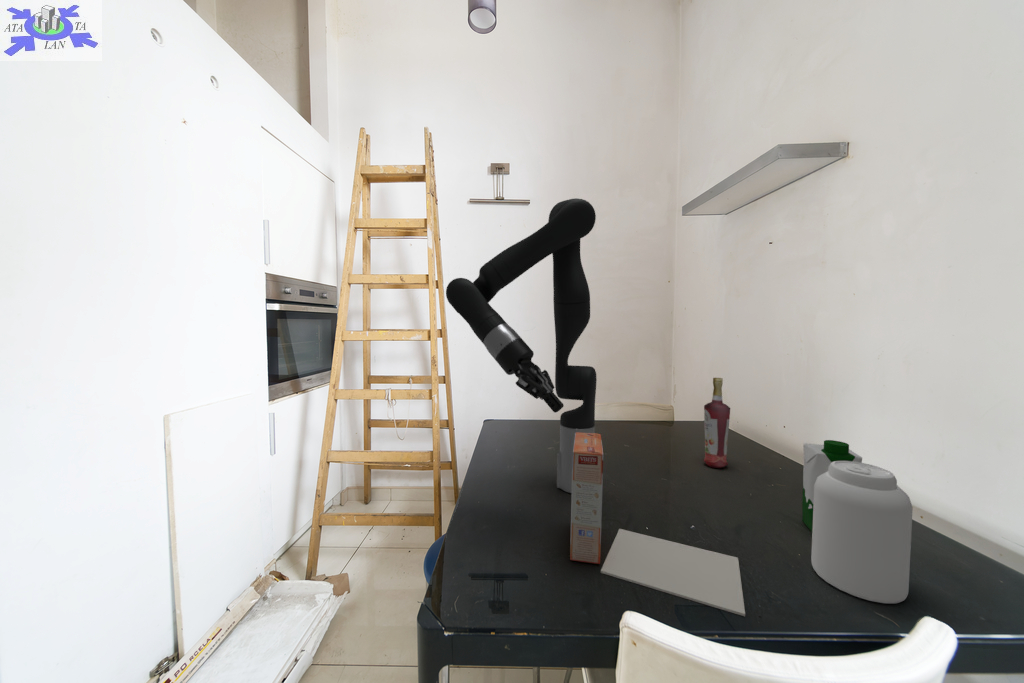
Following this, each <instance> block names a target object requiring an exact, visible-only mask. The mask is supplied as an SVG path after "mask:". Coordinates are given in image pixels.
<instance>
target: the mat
mask: <svg viewBox="0 0 1024 683" xmlns="http://www.w3.org/2000/svg"><path fill="white" fill-rule="evenodd" d="M739 564H740V563H739V557H738V556H737V557H736V556H732V555H728V554H724V553H720V552H717V551H716V552H715V551H713V550H712V551H711V550H707V549H703V548H701V547H696V546H692V545H687V544H682V543H680V542H675V541H671V540H667V539H664V538H658V537H655V536H650V535H647V534H642V533H638V532H634V531H631V530H626V529H622V528H618V531H617V534H616V536H615V538H614V540H613V542H612V544H611V547H610V549H609V551H608V553H607V555H606V557H605V560H604V563H603V564H602V567H601V569H600V574H603V575H606V576H610V577H614V578H616V579H620V580H623V581H626V582H631V583H633V584H637V585H640V586H644V587H646V588H649V589H653V590H656V591H659V592H663V593H667V594H670V595H672V596H676V597H678V598H682V599H686V600H689V601H693V602H696V603H699V604H702V605H706V606H709V607H712V608H715V609H719V610H722V611H725V612H728V613H732V614H735V615H738V616H742V617H746V610H745V609H746V608H745V603H744V602H745V600H744V594H743V586H742V578H741V571H740V565H739Z"/></svg>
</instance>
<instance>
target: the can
mask: <svg viewBox="0 0 1024 683" xmlns="http://www.w3.org/2000/svg"><path fill="white" fill-rule="evenodd" d="M913 507H914V506H913V505H912V502H911V499H910V496H909V495H908V494H907V493H906V491H905V490H903V489H902V488H901V487H900V486H899V485H898V480H897V478H896V475H895V474H894V473H893V472H891V471H889V470H888V469H885V468H882V467H880V466H877V465H873V464H870V463H865V462H862V463H860V462H853V461H834V462H832V463H831V464H830V465H829V468H828V471H827V472H825V473H823V474H822V475H820V476H818V477H817V480H816V482H815V484H814V505H813V530H812V532H811V534H812V535H811V536H812V537H811V559H810V562H811V566H812V568H813V570H814V572H816V574H817V575H818V576H819V577H820V578H821V579H822V580H824V581H825V582H826V583H827V584H830V585H831V586H833V587H834V588H836V589H837V590H840V591H842V592H844V593H847V594H849V595H851V596H853V597H857V598H859V599H863V600H866V601H870V602H875V603H878V604H879V603H880V604H899V603H901V602H903V601H905V600H906V599H907V597H908V595H909V592H910V591H909V590H910V589H909V588H910V586H909V585H910V566H911V565H910V564H911V551H912V550H911V547H912V528H913V527H912V526H913V511H914V510H913Z"/></svg>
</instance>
